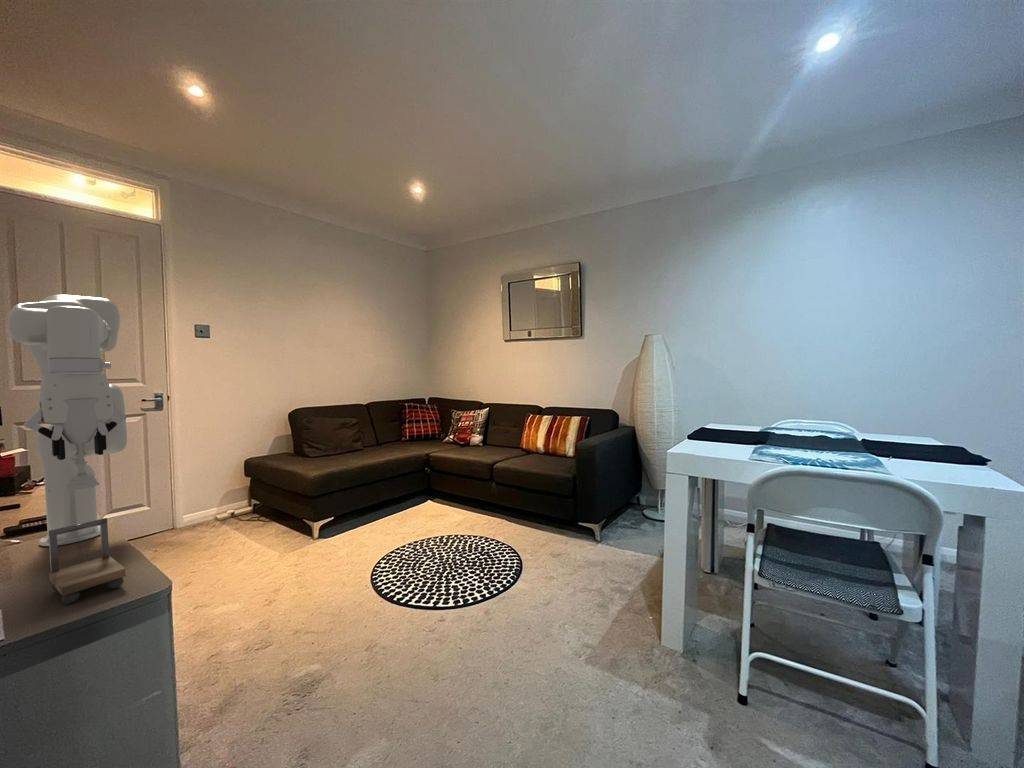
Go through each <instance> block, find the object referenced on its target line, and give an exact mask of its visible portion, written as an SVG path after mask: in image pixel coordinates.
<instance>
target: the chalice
mask: <svg viewBox="0 0 1024 768" xmlns="http://www.w3.org/2000/svg"><path fill="white" fill-rule="evenodd" d="M97 400H98V399H80V400H63V401H64V402H65V403H67V404H68V405H69V407H68V416H67V420H66V423H64V424H62V426H63V431H62V434H63V436H64V437H65V438H66V439H67V441H68V442H69V443H70V444H74V445H76V447H77V452H76V454H75V455H76V456H77V459H78V460H77V462H76V463H75V465H77V467H78V472H77V473H76V474H77V475H75V476H73V477H71V478H70V479H69V482H68V483H67V486H66V488H65V489H64V490H76V489H84V488H89V487H94V486H95V487H97V486H99V485H100V482H98V480H97V478H96V476H93V475H92V474H87V472H86V471H85V464H88V462H87V460H85V457H84V456H85V454H86V453H85V451H84V449H83V448H84V444H85V443H88V442H90V440H91V439H92V437H93V435H94V434H95V432H96V430H97V426H98V423H99V421H98V420H97V417H96V411H95V403H96V402H97ZM94 477H95V478H94Z"/></svg>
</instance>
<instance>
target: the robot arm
mask: <svg viewBox="0 0 1024 768" xmlns="http://www.w3.org/2000/svg"><path fill="white" fill-rule="evenodd" d="M120 315H121V314H120V310H119V308H118V306H117V304H115V302H114V301H112V300H110V299H108V298H104V297H95V296H84V295H82V296H81V295H74V294H73V295H72V294H53V295H49V296H47V297H45V298H43V299H42V300H41V301H39V302H38V301H36V302H35V301H34V302H24V303H17V304H15V305H14V306H13V307H12V308H11V309H10V312H9V315H8V323H7V324H8V325H7V327H8V331H9V334H10V336H11V338H12V339H13V340H14V341H15V342H16V343H18V344H20V345H21V344H22V345H25V346H26V347H27V349H28V351H29V352H30V354H31V355H32V357H33V358H34V360H35V361H36V364H37V365H38V368H39V370H40V377H41V378H40V379H41V380H40V386H39V397H38V399H39V407H38V410H37V411H36V412H35V413H33V414H32V415H31V416H30V418H29V419H28V420H27V421H26V422H24V423H23V427H24V428H28V429H30V430H32V431H33V432H37V433H38V434H37V437H36V443H37V449H38V453H39V456H40V459H41V462H42V463H41V464H42V470H43V471H42V472H43V480H44V483H43V484H44V496H45V497H44V498H45V512H46V513H45V515H46V529H47V532H46V533H47V535H45V536H43V537H41V538H40V539H39V540H38V544H39V546H41V547H49V534H48V531H50V530H54V529H59V528H63V527H68V526H72V525H77V524H81V523H86V522H90V521H95V520H98V514H97V495H96V494H97V491H96V486H94V487H89V488H84V489H76V490H64V489H65V488H66V486H67V483H68V482H69V479H70V478H71V477H73V476H75V475H77V474H76V473H77V472H78V467H77V465H75V463H76V462H77V460H78V459H77V456H76V455H75V454H76V452H77V447H76V445H74V444H70V443H69V442H68V441H67V439H66V438H65V437H64V436H63V434H62V431H63V426H62V424H64V423H66V420H67V416H68V407H69V405H68V404H67V403H65V402H64V401H63V400H80V399H98V400H97V402H96V403H95V411H96V417H97V420H98V421H99V423H98V426H97V430H96V432H95V434H94V435H93V437H92V439H91V440H90V442H88V443H85V444H84V448H83V449H84V451H85V453H86V454H85V456H84V458H86V457H90V456H101V455H102V456H103V455H109V454H116V453H119V452H121V451H123V450H124V449H126V446H127V442H128V434H127V433H128V432H127V431H128V430H127V422H126V421H127V418H128V417H127V415H126V409H125V407H126V406H125V398H124V394H123V391H122V389H121V388H120V387H119V386H118V385H116V384H112V383H109V379H108V376H107V374H104V373H102V372H103V371H104V370H107V369H111V368H112V364H111V362H106V361H104V360H103V359H102V355H101V353H102V352H105V353H106V352H110V351H112V350H113V349H115V347H116V346H117V343H118V334H119V329H120V323H121V316H120ZM39 422H41V423H42V424H46V425H51V426H47V427H46V426H43V425H41V424H39ZM85 471H86V472H87V474H92V475H93V476H95V470H94V469H93V467H91V465H89V464H88V463H86V464H85ZM94 478H95V479H96V476H95V477H94ZM98 536H101V534H100V525H98V526H93V527H89V528H85V529H80V530H76V531H72V532H67V533H63V534H58V535H57V546H63V545H68V544H74V543H78V542H82V541H85V540H89V539H93V538H95V537H98Z"/></svg>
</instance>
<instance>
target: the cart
mask: <svg viewBox="0 0 1024 768" xmlns="http://www.w3.org/2000/svg"><path fill="white" fill-rule="evenodd" d="M98 525H100V547H101V549H100V551H101V557H100V558H95V559H92V560H89V561H84V562H81V563H78V564H73V565H69V566H66V567H63V568H60V567H59V552H58V551H59V549H58V545H57V535H58V534H63V533H67V532H72V531H76V530H80V529H85V528H89V527H93V526H98ZM108 525H109V524H108V518H107V517H104V518H100V519H97V520H95V521H90V522H86V523H81V524H77V525H72V526H68V527H63V528H59V529H54V530H50V531H48V532H47V535H48V534H49V546H48V548H49V562H50V563H49V564H50V571H49V572H48V573H49V575H48V576H49V580H50V582H51V583H52V585H51V586H52V587H51V588H52V590H53V591H55V592H58V593H59V594H60V595H61V602H62V603H64V604H65V605H69V604H73V603H75V602H76V601H78V600H79V597H80V595H81V594H80V591H83V590H86V589H89V588H93V587H95V586H98V585H101V584H105V583H107V587H108V588H109V589H111V590H116V589H118V588H120V587H121V586H122V585H123V583H124V579H123V578H124V577H126V568H125V567H124V566H123V565H122V564H120V563H119V562H118V561H117V560H115V559H114V558H113V557H112V556H111V555H110V548H109V529H108Z"/></svg>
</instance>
